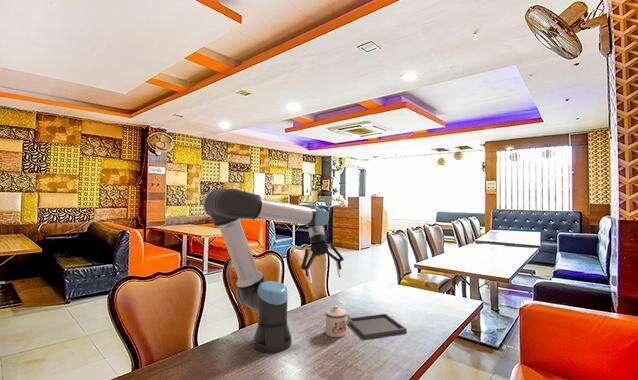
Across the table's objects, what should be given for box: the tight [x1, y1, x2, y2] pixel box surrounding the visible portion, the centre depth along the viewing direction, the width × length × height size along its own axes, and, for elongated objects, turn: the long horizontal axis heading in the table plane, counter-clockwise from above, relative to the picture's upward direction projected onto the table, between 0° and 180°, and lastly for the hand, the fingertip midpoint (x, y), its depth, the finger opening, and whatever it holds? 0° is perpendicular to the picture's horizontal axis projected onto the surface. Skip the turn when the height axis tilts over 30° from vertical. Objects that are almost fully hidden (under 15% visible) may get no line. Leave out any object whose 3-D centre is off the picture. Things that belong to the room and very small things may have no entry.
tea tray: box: [348, 313, 407, 340], centre depth 142 cm, size 20×18×2 cm
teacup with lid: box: [325, 305, 351, 338], centre depth 137 cm, size 12×9×12 cm
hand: (325, 280), depth 144 cm, fingers open, 13 cm apart
